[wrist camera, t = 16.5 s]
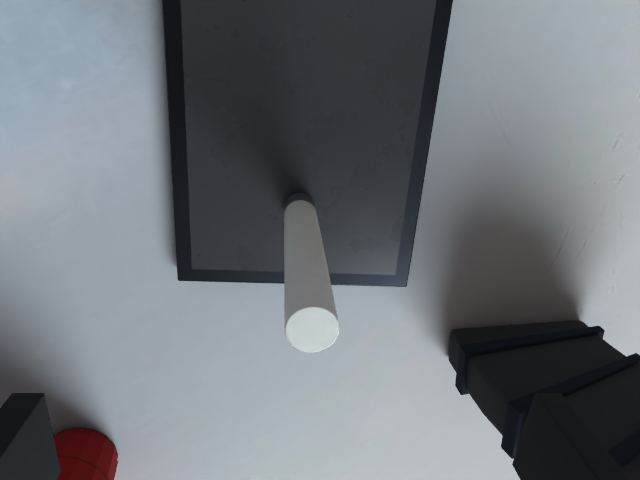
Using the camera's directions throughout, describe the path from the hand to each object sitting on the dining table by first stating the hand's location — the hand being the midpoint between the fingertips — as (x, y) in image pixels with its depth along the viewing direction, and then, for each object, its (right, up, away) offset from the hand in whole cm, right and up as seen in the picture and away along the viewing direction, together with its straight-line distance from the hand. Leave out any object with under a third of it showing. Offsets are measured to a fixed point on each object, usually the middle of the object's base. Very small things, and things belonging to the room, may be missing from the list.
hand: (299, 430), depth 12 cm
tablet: (-1, +13, +16) cm, 21 cm away
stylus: (-1, +7, +17) cm, 18 cm away
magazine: (+17, -3, +24) cm, 30 cm away
